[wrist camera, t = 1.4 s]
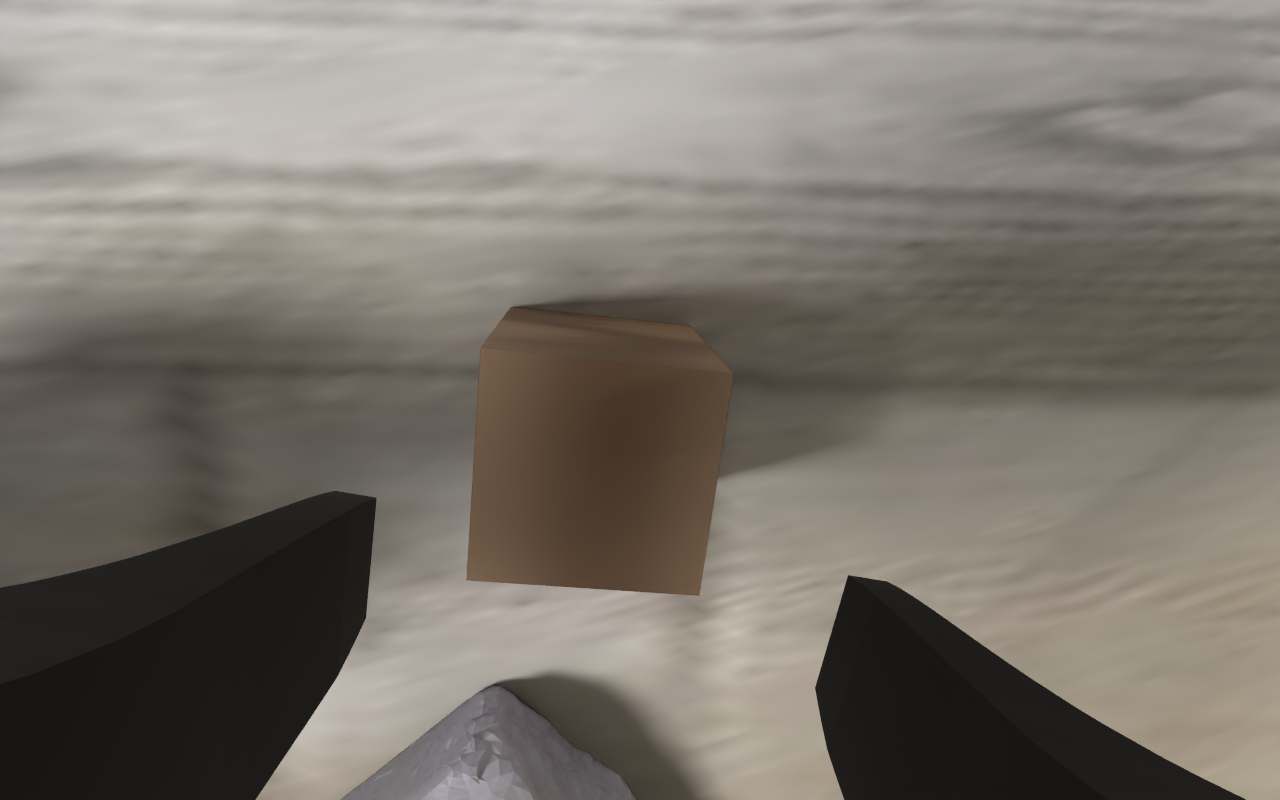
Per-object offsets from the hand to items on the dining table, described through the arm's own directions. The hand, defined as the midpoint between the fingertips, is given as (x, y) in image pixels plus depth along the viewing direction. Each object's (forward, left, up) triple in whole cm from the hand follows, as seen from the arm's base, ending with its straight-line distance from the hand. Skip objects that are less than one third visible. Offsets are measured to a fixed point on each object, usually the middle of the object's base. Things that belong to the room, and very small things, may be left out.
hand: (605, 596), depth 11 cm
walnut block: (0, 0, -10) cm, 10 cm away
